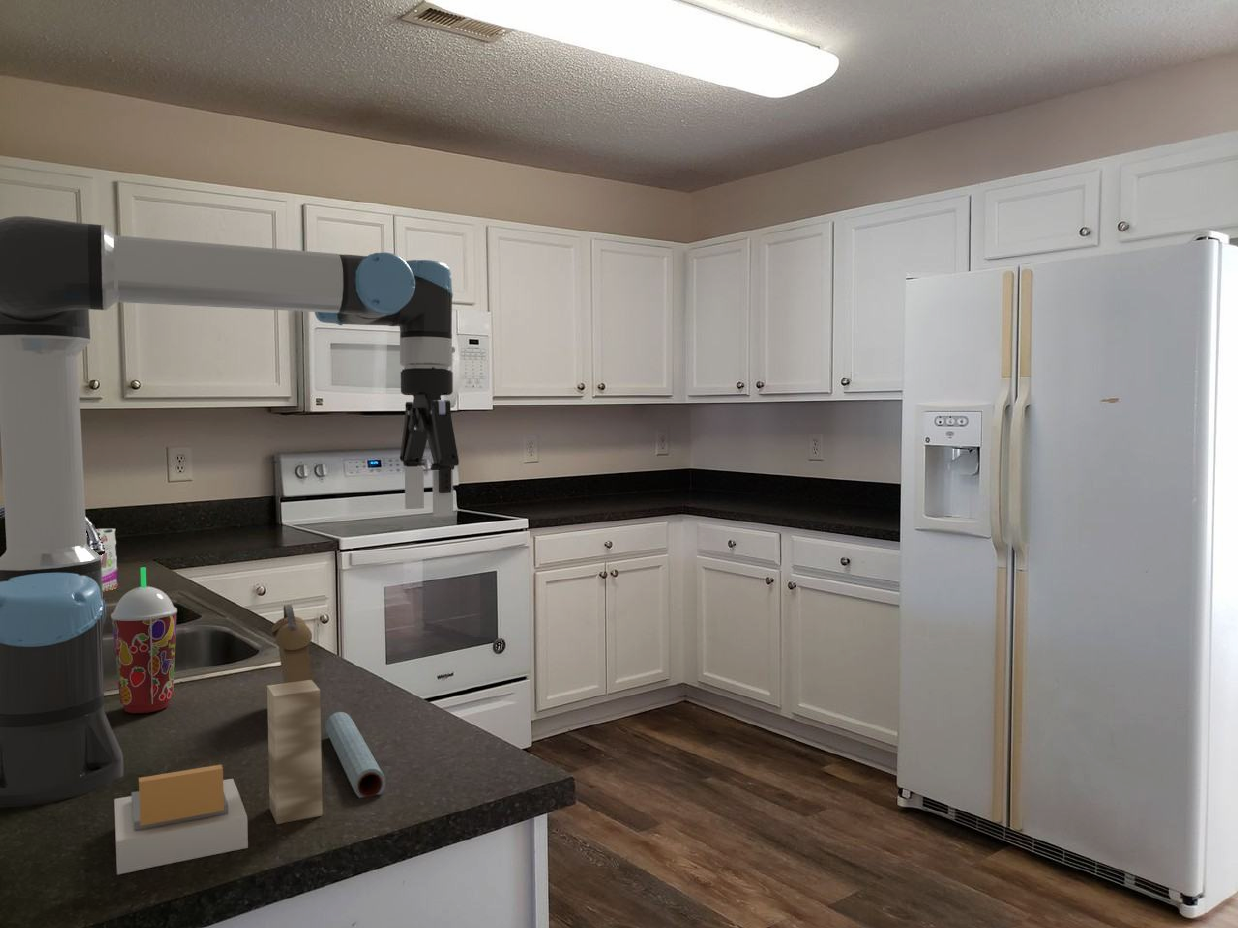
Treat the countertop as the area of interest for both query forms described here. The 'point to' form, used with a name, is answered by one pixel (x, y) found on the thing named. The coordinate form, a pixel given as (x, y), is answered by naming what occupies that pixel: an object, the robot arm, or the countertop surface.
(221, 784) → the shutter
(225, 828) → the socket
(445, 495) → the robot arm
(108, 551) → the candy bar box
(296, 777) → the peg
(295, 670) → the alarm clock
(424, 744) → the countertop surface
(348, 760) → the aluminum foil
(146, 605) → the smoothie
